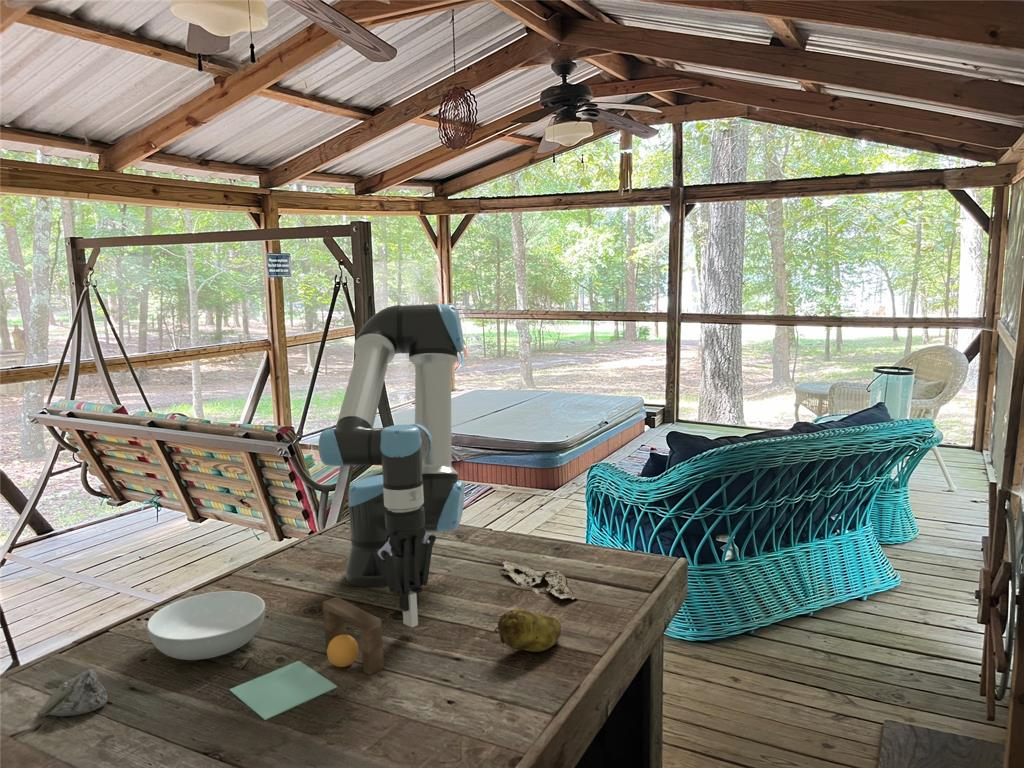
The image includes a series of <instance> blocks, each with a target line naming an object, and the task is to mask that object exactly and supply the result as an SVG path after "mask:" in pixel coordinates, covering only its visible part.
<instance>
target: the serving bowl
mask: <svg viewBox="0 0 1024 768" xmlns="http://www.w3.org/2000/svg"><path fill="white" fill-rule="evenodd" d="M265 613H266V604H265V601H264V600H263V598H261V597H260V596H258V595H257V594H254V593H251V592H248V591H247V592H246V591H238V590H226V591H225V590H223V591H222V590H221V591H211V592H207V593H202V594H195V595H192V596H188V597H185V598H182V599H179V600H177V601H174V602H172V603H170V604H168V605H165V606H163V607H162V608H160V609H158V611H156V612H155V613H154V614H152V615H151V616H150V618H149V620H148V621H147V624H146V628H147V633H148V636H149V639H150V641H151V643H152V645H154V647H155V649H157V650H158V651H159V652H161V653H162V654H163V655H166V656H167V657H171V658H174V659H177V660H183V661H184V660H186V661H198V660H205V659H207V660H208V659H211V658H216V657H220V656H223V655H227V654H228V653H231V652H233V651H236V650H237V649H239V648H241V647H243V646H244V645H246V644H247V643H248V642H249V641H251V640H252V639H253V638H254V637H255V636H256V634H258V632H259V630H260V628H261V627H262V625H263V623H264V619H265Z"/></svg>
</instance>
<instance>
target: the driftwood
mask: <svg viewBox="0 0 1024 768" xmlns="http://www.w3.org/2000/svg"><path fill="white" fill-rule="evenodd" d="M501 563H502V565H503V570H501V571H500V572H501V574H503V575H505V576H509V577H511V579H512V580H513V581H514V582H515V583H516V584H517V585H518V586H519V587H522V586H523V587H524V586H529V587H530V586H531V587H530V588H532V587H533V586H534V585H536V584H540V583H541V582H542V579H543V577H544V575H546V576H545V577H544V579H545V580H546V581H547V582H548V586H547V587H546V588H545V590H546V591H547V592H550V593H551V594H552V595H554V596H555V597H558V598H559V599H560V600H561V599H562V600H563V599H571V600H576V601H577V599H578V598H577V597H575V596H574V592H573V591H572V589H571V588H570V587H569V586H568V579H567V576H566V575H565V574H564V573H562V572H561V571H559V570H554V569H551V570H549V569H547V570H535V569H533V568H532V567H531V566H530V565H526V564H525V565H519V563H514V562H510V561H507V560H506V561H505V560H502V561H501ZM515 570H519V571H521V572H522V573H520V574H518V573H516V572H515ZM533 579H534V581H533ZM532 592H533V593H535V595H540V594H539V593H540V588H539V587H533V588H532ZM537 593H538V594H537Z"/></svg>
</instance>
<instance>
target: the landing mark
mask: <svg viewBox="0 0 1024 768" xmlns="http://www.w3.org/2000/svg"><path fill="white" fill-rule="evenodd" d="M337 688H338V685H336V684H335V683H333V682H331V680H329V679H327V678H326V677H324V676H323V675H321V674H320V673H319V672H317V671H315V670H314V669H312V668H311V667H310V666H307V665H306V664H305V663H304V662H302V661H300V660H297V661H295V662H292V663H290V664H287V665H285V666H283V667H280V668H278V669H275V670H273V671H271V672H269V673H265V674H263V675H261V676H258V677H256V678H254V679H251V680H249V681H248V680H247V681H246V682H243V683H241V684H238V685H236V686H234V687H231V688H229V690H228V691H229V692H231V693H232V694H233V695H235V697H236V698H238V699H239V700H240V701H242V702H243V703H244V704H245V705H246V706H248V707H249V708H250V709H251V711H254V712H255V713H256V714H257V715H258V716H259V717H260V718H262V719H263V720H264V721H266V720H268V719H271V718H273V717H276V716H277V715H280V714H282V713H284V712H286V711H288V710H291V709H293V708H295V707H298V706H300V705H302V704H304V703H307V702H308V701H311V700H313V699H314V698H318V697H320V696H321V695H323V694H326V693H328V692H330V691H332V690H334V689H337Z"/></svg>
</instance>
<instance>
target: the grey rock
mask: <svg viewBox="0 0 1024 768" xmlns="http://www.w3.org/2000/svg"><path fill="white" fill-rule="evenodd" d="M107 702H108V692H107V689H106V688H105V687H104V685H103V684H102V683H100V680H98V675H97V673H96V672H95V670H94V669H93V668H89V669H86V670H85V671H82V672H81V673H80V674H78V675H76V676H75V677H73V678H71V679H69V680H68V681H65V682H63V683H61V685H59V687H58V688H56V690H55V691H54V692H53V693H52V695H51V696H50V697H49V698H48V699H47V700H46V702H44V704H43V705H42V707H41V708H40V711H39V713H38V716H39V717H40V718H43V717H46V716H48V715H51V716H56V717H57V716H58V717H71V716H72V717H73V716H79V715H84V714H88V713H91V712H93V711H95V710H98V709H100V708H101V707H103V706H105V705H106V704H107Z"/></svg>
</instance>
